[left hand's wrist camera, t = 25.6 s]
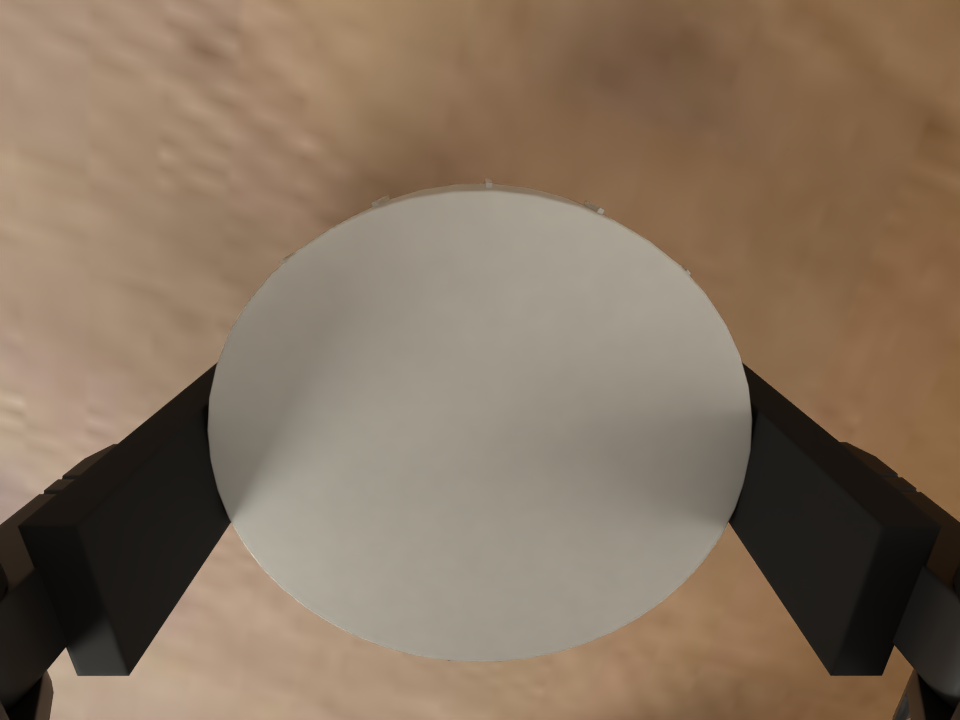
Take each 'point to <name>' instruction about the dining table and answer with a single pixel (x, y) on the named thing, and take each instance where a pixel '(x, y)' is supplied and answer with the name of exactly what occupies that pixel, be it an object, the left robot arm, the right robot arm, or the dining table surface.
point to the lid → (479, 424)
